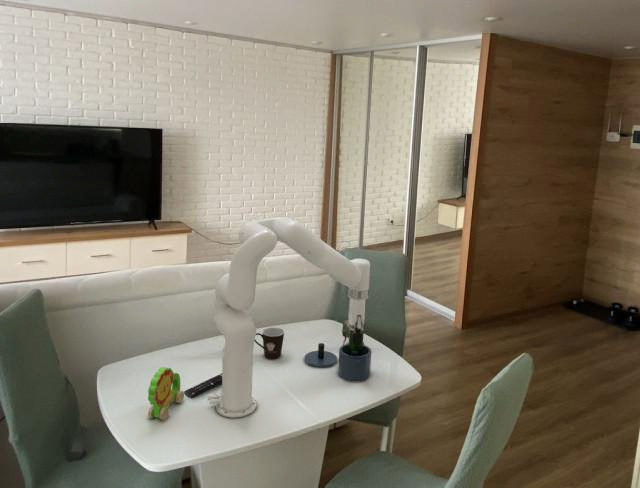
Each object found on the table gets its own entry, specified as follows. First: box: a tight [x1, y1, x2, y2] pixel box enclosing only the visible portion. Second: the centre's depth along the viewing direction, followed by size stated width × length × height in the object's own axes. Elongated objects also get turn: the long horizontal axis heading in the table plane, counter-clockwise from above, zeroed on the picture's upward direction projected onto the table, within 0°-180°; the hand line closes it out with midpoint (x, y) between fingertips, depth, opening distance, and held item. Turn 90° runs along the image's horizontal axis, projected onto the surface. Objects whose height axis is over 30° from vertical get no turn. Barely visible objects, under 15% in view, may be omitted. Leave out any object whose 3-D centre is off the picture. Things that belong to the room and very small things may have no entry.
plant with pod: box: [341, 319, 365, 346], centre depth 217 cm, size 8×11×20 cm
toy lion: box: [147, 366, 185, 421], centre depth 164 cm, size 16×6×15 cm, turn 170°
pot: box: [337, 343, 372, 383], centre depth 195 cm, size 12×17×10 cm
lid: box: [303, 342, 338, 368], centre depth 205 cm, size 13×13×7 cm
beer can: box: [348, 323, 365, 356], centre depth 194 cm, size 5×5×12 cm
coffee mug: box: [254, 327, 285, 361], centre depth 207 cm, size 12×9×10 cm
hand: (355, 339), depth 194 cm, fingers closed on beer can, 5 cm apart
